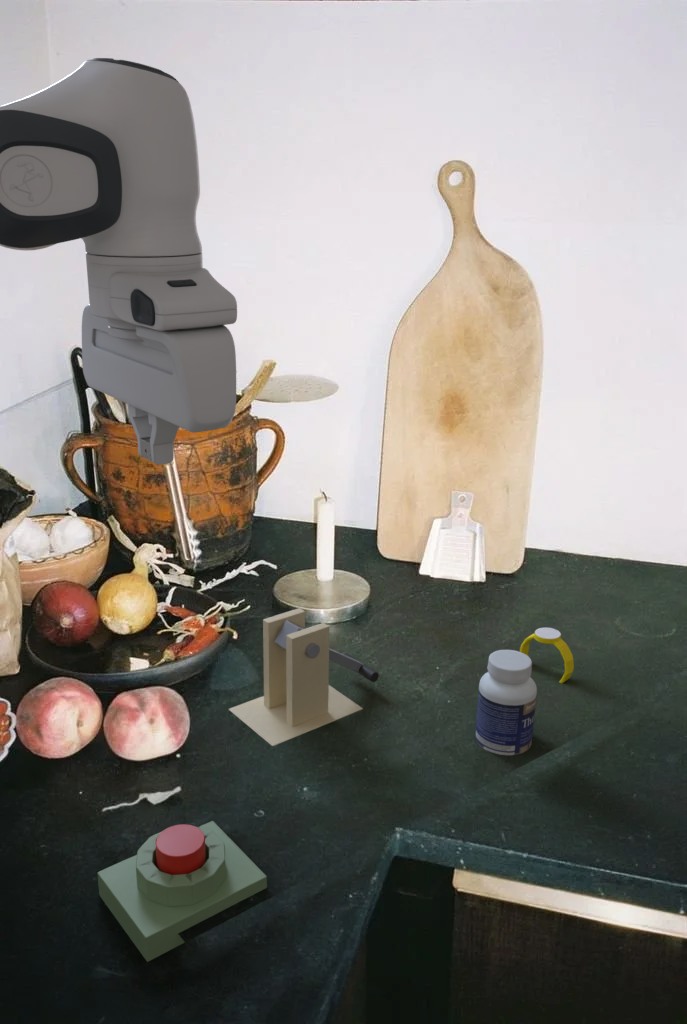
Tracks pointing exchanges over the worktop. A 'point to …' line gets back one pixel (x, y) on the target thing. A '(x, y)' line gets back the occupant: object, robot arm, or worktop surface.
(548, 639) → the watch
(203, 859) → the button
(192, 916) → the block
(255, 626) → the worktop surface
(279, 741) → the tan bracket
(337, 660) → the lever
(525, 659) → the pill bottle
